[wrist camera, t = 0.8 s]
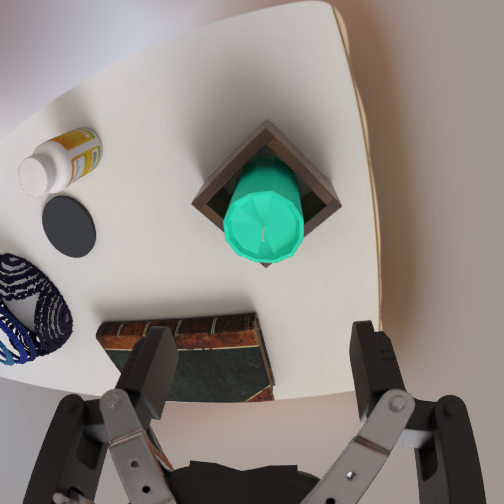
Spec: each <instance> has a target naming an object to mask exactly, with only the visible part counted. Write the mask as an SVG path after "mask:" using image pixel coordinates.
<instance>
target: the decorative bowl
mask: <svg viewBox="0 0 504 504" xmlns="http://www.w3.org/2000/svg"><path fill="white" fill-rule="evenodd" d="M9 257H10V258H12V257H14V258H17V259H19V260H17V261H16V260H15V261H13V262H12V261H10V258H9ZM2 261H3V262H4V264H6V265H9V266H12V267H14V266H18V265H20V264H21V263H24V262H25V263H26V265H25V266H24V267H23V268H19V269H18V270H17V269H16V270H13V271H9V270H6V269H3V267H2V264H1V263H2ZM30 266H31V267H32V268H30V269H29V270H28V271H27V270H26V269H28V268H29V267H30ZM24 270H26V272H25V273H22V274H18V275H13V276H12V275H11V276H9V275H10V274H12V273H14V274H15V273H17V272H18V273H19V272H21V271H24ZM0 271H1V272H4V273H7V274H9V275H6V274H5V275H3V274H2V273H1V272H0V280H2V281H3V282H4V283H6V284H9V285H10V284H12V283H14V281H17V280H21V279H24V278H26V279H28V277H29V276H30V277H32V276H34V275H35V274H36V275H37V274H38V272H39V274H38V275H37V276H36V279H35V278H33V281H32V279H31V280H28V281H27V282H25V283H22V284H20V283H19V284H18V285H16V284H15V285H13V286H11V287H10V286H8V285H7V286H6V287H7V288H6V287H5V286H4V285H2V284H0V289H2V290H4V291H5V292H6V293H9V292H10V293H11V294H9V296H7V295H6V296H4V295H2V293H0V314H2V315H4V316H2V317H0V328H1V329H2V331H4V333H6V334H7V336H8V337H9V341H10V343H11V345H13V347H14V349H16V350H17V351H18V352H19V354H20V357H19V356H17V355H15V354H14V353H13V352H11V351H10V350H8V349H7V348H6V346H5V345H4V344H3V343H2V342H1V341H0V348H1V349H2V351H3V352H4V353H3V352H1V350H0V354H1V355H2V356H3V357H4V358H6V359H7V360H6V361H4V360H1V359H0V362H1V363H3V364H5V365H11V366H12V365H13V364H14V363H16V364H17V363H19V364H24V363H26V362H27V361H33V360H34V359H35V358H36V357H38V356H44V355H47V354H49V353H50V352H51V353H52V352H54V351H56V350H57V349H59V348H61V346H62V345H63V344H64V343H66V341H67V340H68V339H69V337H70V336H71V333H72V332H73V331H72V326H73V324H72V322H73V320H72V316H71V313H70V310H69V309H68V305H66V302H65V301H64V299H63V296H62V295H61V294H60V292H59V291H58V289H57V288H56V287H55V285H53V282H50V280H49V279H48V277H46V276H45V275H44V273H42V271H40V270H39V269H38V268H37V267H36V266H34V265H32V263H29V261H27V260H26V259H24V258H21V257H18V256H15V255H12V254H9V253H7V254H5V253H4V255H0ZM41 278H42V279H44V281H43V282H42V281H41V282H40V283H39V280H40V279H41ZM3 279H4V280H3ZM46 281H47V282H46ZM36 282H37V283H39V284H37V285H36V288H35V289H34V288H30V289H28V292H27V291H23V292H21V293H20V292H19V293H17V295H15V296H14V294H12V292H13V293H15V290H17V289H19V290H20V289H23V290H25V289H27V287H28V286H30V285H32V284H33V285H34V286H35V283H36ZM45 282H46V284H45V285H44V287H45V288H44V289H43V291H42V290H41V288H42V287H43V284H44V283H45ZM49 283H50V284H49ZM48 284H49V285H48ZM47 285H48V287H46V286H47ZM50 287H51V289H52V291H51V292H50V293H49V292H48V291H49V289H50ZM8 288H9V289H10V290H8ZM34 290H35V291H34ZM36 292H37V293H38V292H40V294H39V297H38V299H39V301H38V300H37V303H36V308H35V309H36V310H35V313H34V314H35V315H34V317H35V318H34V324H36V325H35V326H34V327H35V329H34V330H35V332H33V331H30V329H29V328H27V327H26V326H24V325H23V324H22V323H20V321H19V320H18V319H17V318H16V317H15V316H14V315H13V314H12V313H11V312H10V311H9V310H8V307H7V306H6V305H5V303H4V302H3V300H2V297H3V298H5V299H6V300H7V301H11V300H12V299H14V298H15V300H20V299H22V300H23V299H25V298H26V297H28V296H29V297H30V296H32V293H33V294H35V293H36ZM25 294H27V295H25ZM55 295H56V296H55ZM18 296H21V297H18ZM44 296H46V298H44ZM54 296H55V298H54V301H53V304H52V305H51V303H52V302H51V301H52V299H51V298H53V297H54ZM58 296H60V299H59V302H58V303H57V304H58V305H57V308H56V309H55V314H54V322H53V323H54V326H55V329H54V330H55V333H56V334H57V335H58V338H59V339H58V338H56V337H55V333H54V330H53V329H52V327H51V323H52V321H51V316H52V311H53V308H54V303H55V302H56V300H57V299H58ZM11 298H12V299H11ZM40 298H42V299H40ZM44 299H45V303H44V304H43V302H44ZM62 302H63V305H62V306H61V309H60V312H59V314H58V315H59V317H58V318H59V319H58V325H59V328H60V331H61V333H64V334H66V335H62V334H59V332H58V329H57V326H56V325H57V319H56V318H57V313H58V309H59V306H60V304H61V303H62ZM2 304H3V305H4V306H3V307H2V306H1V305H2ZM42 305H43V306H42ZM50 305H51V306H50ZM42 307H43V309H42V310H43V311H42V312H40V311H41V308H42ZM48 307H51V308H50V310H51V311H50V313H49V314H50V315H49V321H48V312H49V308H48ZM67 313H68V317H69V323H66V315H67ZM41 314H42V315H43V316H42V317H41ZM37 317H38V318H37ZM40 317H41V318H40ZM5 319H8V321H7V320H6V323H4V322H3V321H2V320H4V321H5ZM40 319H41V322H40ZM47 321H48V322H49V328H50V330H51V331H50V334H51V336H53V339H51V337H50V334H49V332H48V322H47ZM10 323H12V324H11V325H9V327H8V324H10ZM41 323H42V324H43V326H41V325H40V324H41ZM14 326H15V327H14ZM37 326H38V328H37ZM40 326H41V328H42V330H41V331H42V333H43V336H44V337H43V336H42V334H41V333H40V332H39V330H40V329H41V328H40ZM23 327H24V328H23ZM14 328H16V329H15V330H16V331H15V334H14V333H13V329H14ZM44 328H45V329H44ZM18 331H19V332H18ZM28 331H30V332H29V335H28ZM19 333H20V335H19V338H20V340H19V339H18V337H17V336H18V334H19ZM21 335H22V337H23V341H24V343H23V342H22V337H21ZM36 336H37V337H38V338H39V340H40V342H38V341H37V339H36ZM44 340H45V341H44ZM24 344H25V345H24ZM26 346H27V347H29V348H27V347H26ZM24 348H26V349H27V350H26V349H24ZM36 348H38V349H36ZM41 348H42V349H41ZM28 350H29V351H28ZM28 356H30V357H29V358H27V357H28ZM13 357H14V358H16V359H18V361H17V360H14V359H13Z"/></svg>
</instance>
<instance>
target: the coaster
mask: <svg viewBox="0 0 504 504" xmlns="http://www.w3.org/2000/svg"><path fill="white" fill-rule="evenodd" d="M42 223H43V228H44V231H45V233H46V236H47V238H48V239H49V241H50V242H51V244H52V245H53V246H54V247H55V248H56V249H57V250H58V251H60V252H61V253H63V254H65V255H67V256H69V257H74V258H79V257H83V256H85V255H87V254H88V253H89V252H90V251H91V249H92V248H93V246H94V244H95V239H96V230H95V226H94V223H93V220H92V218H91V216H90V214H89V213H88V211H87V210H86V209H85V207H84V206H83V205H82V204H80V203H79V202H78V201H76V200H75V199H73V198H71V197H68V196H57V197H55V198H53V199H51V200H50V201H49V202H48V203H47V204H46V206H45V207H44V210H43V214H42Z"/></svg>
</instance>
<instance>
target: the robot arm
mask: <svg viewBox="0 0 504 504" xmlns="http://www.w3.org/2000/svg"><path fill="white" fill-rule="evenodd" d="M349 353H350V362H351V367H352V373H353V379H354V385H355V391H356V398H357V404H358V411H359V418H360V422H364V421H366V422H365V424H364V425H363V427H362V428H361V430H360V431H359V433H358V434H357V435H356V436H355V437H353V439H352V440H351V441H350V442H349V444H348V445H347V446H346V448H345V449H344V450H343V452H342V453H341V454H340V456H339V457H338V458H337V460H336V461H335V462H334V464H333V465H332V466H331V468H330V469H329V470H328V471H327V473H326V474H325V475H324V476H323V478H322V479H319V478H317V477H316V476H314V475H312V474H309V473H306V472H302V471H297V465H286V466H285V465H283V466H282V465H281V466H266V467H261V468H256V469H251V470H245V471H240V470H236V469H233V468H229V467H226V466H223V465H220V464H217V463H209V462H199V461H190V465H189V467H183V468H179V469H176V470H174V468H173V467H172V465H171V464H170V462H169V461H168V459H167V458H166V456H165V454H164V452H163V451H162V448H161V446H160V444H159V443H158V440H157V438H156V436H155V434H154V432H153V430H152V428H151V426H150V422H151V419H157V420H160V419H161V415H162V412H163V408H164V405H165V402H166V398H167V395H168V392H169V389H170V385H171V382H172V379H173V375H174V372H175V369H176V366H177V363H178V349H177V347H176V344H175V342H174V339H173V337H172V334H171V331H170V329H169V327H162V326H152V327H151V328H150V329H149V332H148V334H147V336H146V337H141V338H140V339H139V340H138V341H137V342H136V343H135V344H134V346H133V348H132V351H131V353H130V355H129V357H128V359H127V362H126V364H125V366H124V368H123V371H122V373H121V375H120V378H119V380H118V382H117V385H116V387H115V389H112V390H109V391H107V392H106V393H105V394H103V396H102V397H101V399H95V400H87V401H84V400H83V399H82V398H81V397H80V396H79V395H77V394H70V395H67V396H65V397H64V398H63V399H62V400H61V401H60V403H59V405H58V407H57V410H56V412H55V414H54V417H53V419H52V421H51V424H50V426H49V429H48V431H47V434H46V436H45V439H44V442H43V444H42V447H41V450H40V453H39V455H38V458H37V461H36V464H35V466H34V469H33V472H32V475H31V478H30V481H29V484H28V488H27V491H26V494H25V497H24V500H23V504H95V503H94V498H95V494H96V490H97V486H98V482H99V478H100V475H101V471H102V467H103V463H104V460H105V456H106V453H107V449H108V447H109V451H110V453H111V456H112V459H113V462H114V464H115V467H116V469H117V472H118V475H119V477H120V479H121V482H122V484H123V486H124V489H125V491H126V493H127V496H128V498H129V500H130V503H129V504H357V503H358V502H359V500H360V499H361V497H362V496H363V495H364V493H365V492H366V490H367V489H368V488H369V486H370V485H371V483H372V481H373V480H374V479H375V477H376V476H377V474H378V473H379V471H380V470H381V468H382V466H383V465H384V463H385V462H386V460H387V458H388V457H389V455H390V453H391V451H392V449H393V447H394V446H401V447H409V448H414V451H415V459H416V468H417V477H418V487H419V500H420V504H486V497H485V491H484V484H483V478H482V473H481V467H480V462H479V457H478V452H477V448H476V443H475V439H474V435H473V431H472V427H471V423H470V419H469V416H468V412H467V408H466V405H465V403H464V402H463V400H462V399H460V398H459V397H457V396H454V395H446V396H443V397H441V398H440V399H439V400H438V401H437V402H431V401H422V400H418V399H415V398H414V397H412V395H411V394H410V393H408V392H407V391H406V389H405V387H404V383H403V380H402V376H401V373H400V369H399V366H398V363H397V359H396V356H395V353H394V351H393V346H392V343H391V340H390V339H389V337H388V336H387V335H386V334H385V333H384V332H383V331H380V332H375V331H374V328H373V325H372V322H371V320H367V321H356V322H353V326H352V333H351V340H350V348H349ZM109 442H111V443H110V444H109Z"/></svg>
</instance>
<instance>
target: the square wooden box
mask: <svg viewBox="0 0 504 504" xmlns="http://www.w3.org/2000/svg"><path fill="white" fill-rule="evenodd" d="M264 145H267V146H268V147H269V148H270V149H271V150H272V151H273V152H274V153H275V154H276V155H278V156H279V157H280V158H281V159H282V160H283V161H284V162H285V163H286V164H287V165H288V166H289V167H290V168H291V169H292V170H293V171H294V172H295V173H296V174H297V175H298V176H299V177H300V178H301V179H302V180H303V181H304V182H305V183H306V184H307V185H308V186H309V187H310V189H311V190H312V192H311V193H310V194H309V195H307V196H306V197H305V198H304V199H303V200H302V201H301V207H302V213H303V219H304V233H303V238H304V237H305V236H306V235H308V234H309V233H310V232H311V231H312V230H314V229H315V228H316V227H317V226H319V225H320V224H321V223H322V222H324V221H325V220H326V219H327V218H328V217H330V216H331V215H332V214H333V213H334V212H336V211H337V210H338V209H339V208H341V207H342V205H341V203H340V201H339V198H338V196H337V194H336V192H335V190H334V188H333V186H332V184H331V183H330V182H329V181H328V180H327V179H326V178H325V177H324V176H323V175H322V174H321V173H320V172H319V171H318V169H317V168H316V167H315V166H314V165H313V164H312V163H311V162H310V161H309V160H308V159H307V158H306V157H305V156H304V155H303V154H302V153H301V152H300V151H299V150H298V149H297V148H296V147H295V146H294V145H293V144H292V143H291V142H290V141H289V140H288V139H287V138H286V137H285V136H284V135H283V134H282V133H281V132H280V131H279V130H278V129H277V128H276V127H275V126H274V125H273V124H272V123H271V122H270V121H269V120H267V121H265V122H264V123H263V124H262V125H261V126H260V127H259V128H258V129H257V130H256V131H255V132H254V133H253V134H252V135H251V136H250V137H249V138H248V139H247V140H246V141H245V142H244V143H243V144H242V145H241V146H240V147H239V148H238V149H237V150H236V151H235V152H234V153H233V154H232V155H231V156H230V157H229V158H228V159H227V160H226V161H225V162H224V163H223V164H222V165H221V166H220V167H219V168H218V169H217V171H216V172H215V173H214V174H213V175H212V176H211V177H210V178H209V179H208V180H207V181H206V182H205V183H204V184H203V186H202V188H201V189H200V191H199V192H198V194H197V195H196V197H195V198H194V200H193V201H192V203H191V204H192V205H193V206H194V207H195V208H196V209H198V210H200V212H201V213H202V214H203V215H205V216H206V217H207V218H208V219H209V220H210V221H212V222H213V223H214V224H215V225H216V226H217V227H219V228H220V229H221V230H222V231H223V232H224V226H223V221H224V218H225V215H226V212H227V210H228V207H229V204H230V201H231V199H232V197H231V196H230V195H229V194H228V193H227V192H225V191H224V190H223V189H222V187H223V186H224V185H225V184H226V183H227V182H228V181H229V180H230V179H231V178H232V177H233V176H234V175H235V174H236V173H237V172H238V171H239V170H240V169H241V168H242V167H243V166H244V165H245V164H246V163H247V162H248V161H249V160H250V159H251V158H252V157H253V156H254V155H255V154H256V153H257V152H258V151H259V150H260V149H261V148H262V147H263V146H264ZM259 263H261V264H262V265H263V266H264V267H265V268H267V267H268V266H269V265H270V264H272V263H267V262H259Z"/></svg>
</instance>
